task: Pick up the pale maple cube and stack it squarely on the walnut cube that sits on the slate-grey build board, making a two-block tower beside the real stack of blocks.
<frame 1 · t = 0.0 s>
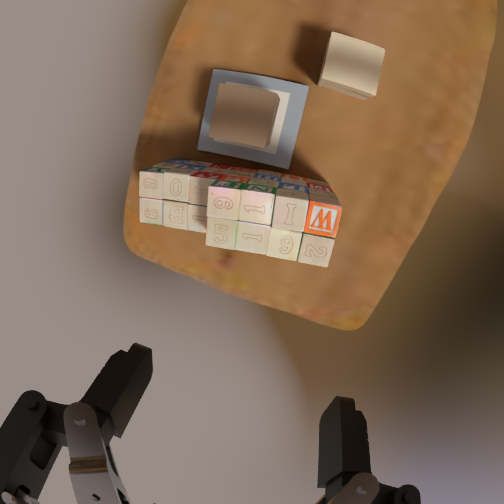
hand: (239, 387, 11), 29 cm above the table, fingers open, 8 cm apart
build board: (252, 116, 33), on the table
stack of blocks: (245, 189, 38), on the table
walnut block: (250, 116, 32), point 1 cm above the table, touching build board
maple block: (345, 72, 29), on the table
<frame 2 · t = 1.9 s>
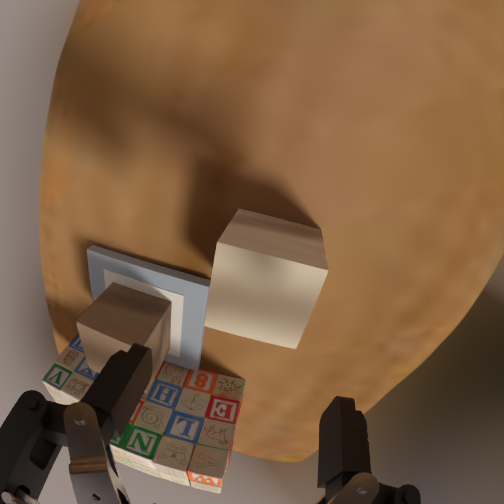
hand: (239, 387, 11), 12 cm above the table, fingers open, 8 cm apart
build board: (146, 309, 26), on the table
stack of blocks: (157, 370, 31), on the table
walnut block: (141, 316, 25), point 1 cm above the table, touching build board
maple block: (270, 255, 21), on the table
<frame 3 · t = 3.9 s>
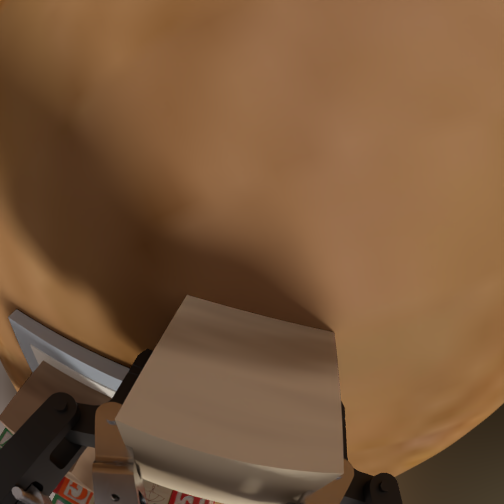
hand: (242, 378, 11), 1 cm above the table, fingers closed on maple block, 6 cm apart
build board: (91, 392, 17), on the table
stack of blocks: (118, 440, 21), on the table
walnut block: (84, 402, 16), point 1 cm above the table, touching build board
maple block: (246, 364, 12), on the table, touching gripper
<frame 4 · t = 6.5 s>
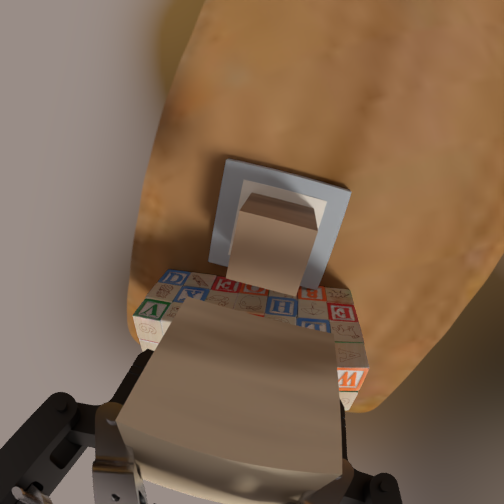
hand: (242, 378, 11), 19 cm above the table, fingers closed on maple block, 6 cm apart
build board: (276, 225, 29), on the table
stack of blocks: (256, 300, 33), on the table
walnut block: (275, 229, 28), point 1 cm above the table, touching build board
maple block: (245, 365, 12), point 18 cm above the table, touching gripper
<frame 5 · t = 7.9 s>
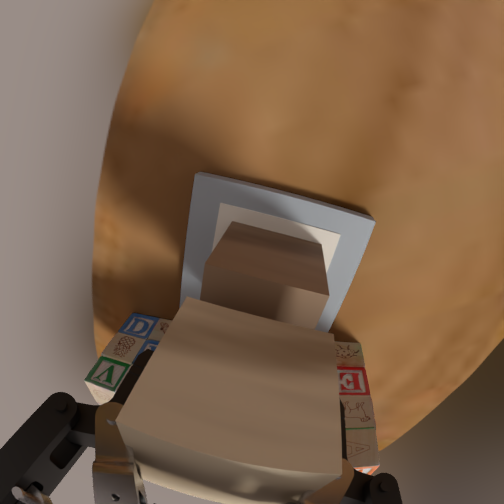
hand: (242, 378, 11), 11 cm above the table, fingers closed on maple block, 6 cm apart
build board: (268, 264, 21), on the table
stack of blocks: (241, 352, 26), on the table
walnut block: (266, 271, 20), point 1 cm above the table, touching build board
maple block: (245, 365, 12), point 10 cm above the table, touching gripper
when the fingers open (8 cm above the table, at t = 9.3 s): maple block stays where it is, resting on walnut block.
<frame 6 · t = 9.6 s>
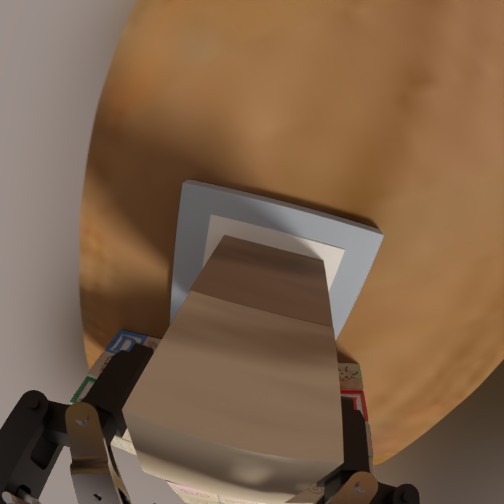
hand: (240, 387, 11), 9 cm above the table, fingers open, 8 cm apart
build board: (264, 280, 19), on the table
stack of blocks: (233, 372, 24), on the table
walnut block: (262, 289, 18), point 1 cm above the table, touching build board, maple block
maple block: (247, 359, 13), point 7 cm above the table, touching walnut block
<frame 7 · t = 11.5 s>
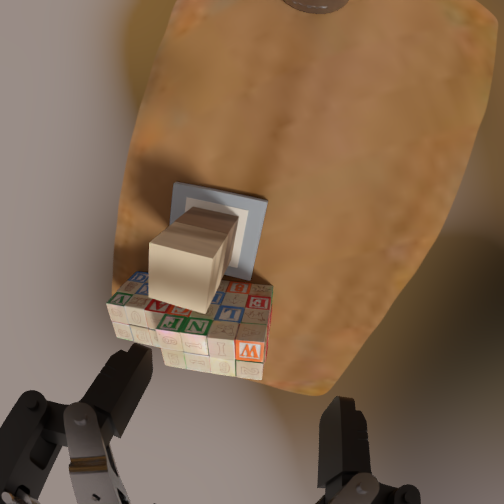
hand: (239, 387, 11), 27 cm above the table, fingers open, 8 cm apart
build board: (214, 230, 37), on the table
stack of blocks: (201, 294, 42), on the table
walnut block: (212, 233, 36), point 1 cm above the table, touching build board, maple block
maple block: (197, 253, 31), point 7 cm above the table, touching walnut block
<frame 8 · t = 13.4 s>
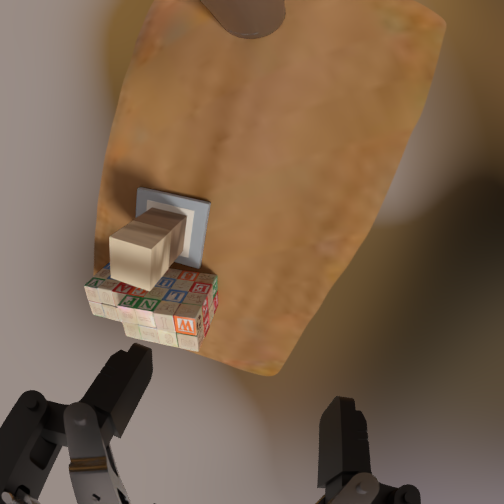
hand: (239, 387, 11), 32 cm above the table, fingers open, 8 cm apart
build board: (170, 226, 44), on the table
stack of blocks: (162, 281, 50), on the table
walnut block: (167, 229, 43), point 1 cm above the table, touching build board, maple block
maple block: (150, 244, 38), point 7 cm above the table, touching walnut block
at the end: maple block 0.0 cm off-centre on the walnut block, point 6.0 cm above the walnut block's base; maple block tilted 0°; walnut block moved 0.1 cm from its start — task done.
